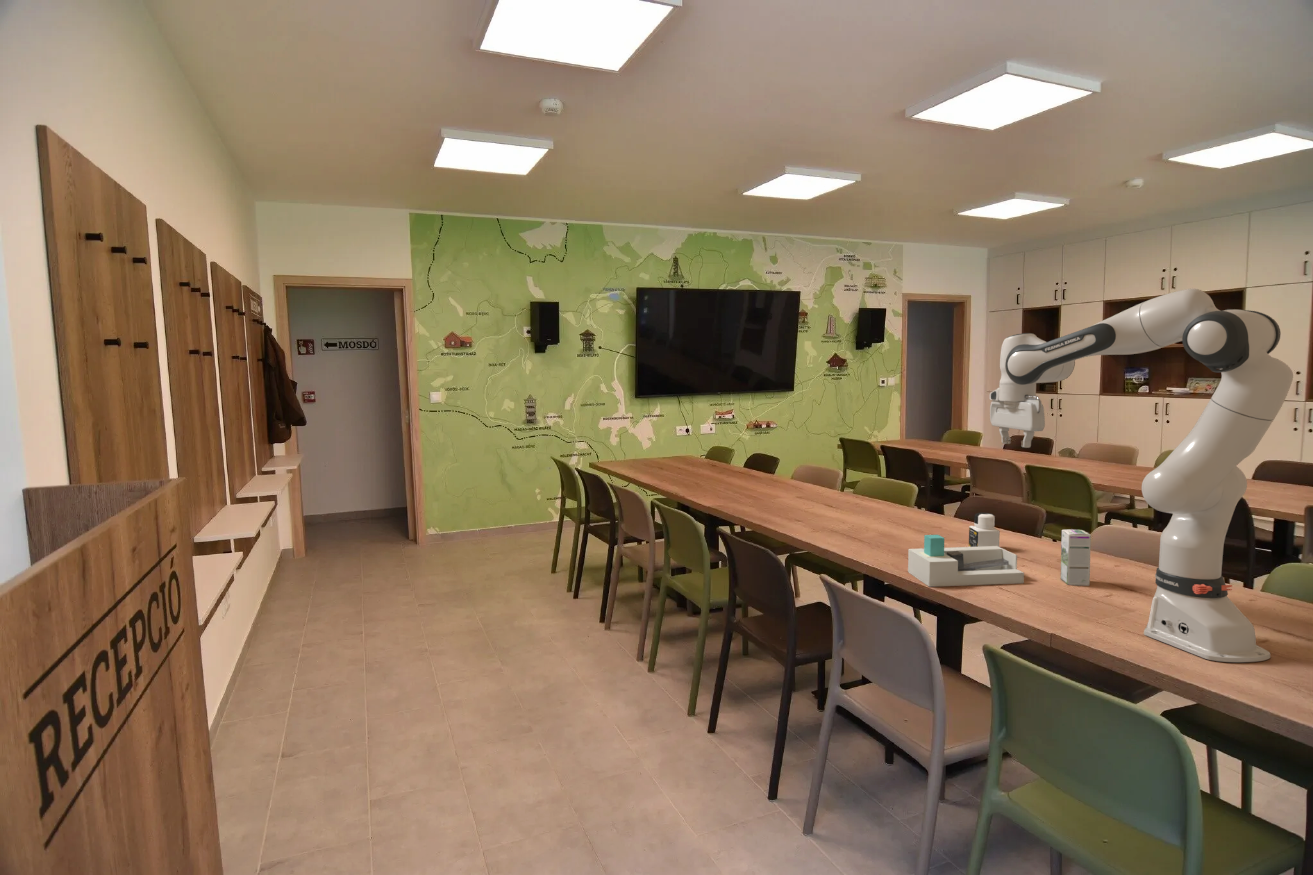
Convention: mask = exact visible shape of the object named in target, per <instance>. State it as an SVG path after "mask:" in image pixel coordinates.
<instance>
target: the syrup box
mask: <svg viewBox="0 0 1313 875" xmlns="http://www.w3.org/2000/svg"><path fill="white" fill-rule="evenodd" d="M1091 537H1092V534H1090V533H1089V532H1087V531H1085V530H1083V529H1073V528H1071V529H1062V530H1061V544H1060V549H1061V550H1060V580H1062V581H1063V582H1064V583H1065V584H1066V585H1067V586H1078V587H1079V586H1080V587H1081V586H1082V587H1083V586H1084V587H1089V586H1090V582H1091V578H1090V576H1091V547H1092V546H1091V545H1092V544H1091V540H1092V538H1091Z"/></svg>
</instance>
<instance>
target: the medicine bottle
mask: <svg viewBox="0 0 1313 875" xmlns="http://www.w3.org/2000/svg"><path fill="white" fill-rule="evenodd" d="M995 517H996V516H995V515H994V514H993V513H989V512H977V513H975V514H974V521H973V522H974V523H973V524H974V525H969V527H968V547H981V546H998V547H1000V536H1001V535H1000V530H999V529H997V528H995V521H996V520H995V519H996V518H995Z"/></svg>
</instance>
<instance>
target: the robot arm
mask: <svg viewBox="0 0 1313 875" xmlns="http://www.w3.org/2000/svg"><path fill="white" fill-rule="evenodd" d="M1280 339H1281V329H1280V326H1279V324H1278V323H1277V321H1276V320H1275V319H1273V317H1271V316H1269V315H1267V314H1265V313H1264V312H1259V311H1257V310H1256V311H1255V310H1249V309H1248V310H1247V309H1246V310H1245V309H1235V308H1234V309H1233V308H1227V309H1225V310H1220V309H1218V308H1217V307H1216V306H1215V304H1214V301H1213V299H1212V298H1211V296H1210V295H1209V294H1208V293H1206V292H1205V291H1203V290H1202V289H1198V288H1187V289H1186V288H1184V289H1181V290H1177V291H1174V292H1173V291H1172V292H1170V293H1166V294H1162V295H1160V296H1159V295H1158V296H1156V297H1154V298H1151V299H1148V300H1146V301H1143V302H1141V303H1138V304H1135V305H1134V306H1132V307H1129V308H1128V309H1125V310H1122V311H1121V312H1119V313H1116V314H1114V315H1112V316H1110V317H1108V318H1105V319H1104V320H1101V321H1099V322H1097V323H1094V324H1092V325H1090V326H1088V327H1085V328H1083V329H1080V330H1078V331H1075V332H1071V333H1068V334H1066V335H1063V336H1060V337H1057V338H1054V339H1051V340H1049V341H1045V340H1043V339H1042V338H1040V337H1037V335H1036V334H1034V333H1031V332H1024V333H1023V332H1022V333H1016V334H1013V335H1009V336H1007V337H1006V338H1004V340H1003V342H1002V344H1001V347H1000V356H999V358H1000V359H999V369H1000V379H999V383H998V384H999V385H998V387H997V388H996V389H994V390H992V391H990V393H989V400H990V401H991V402H990V406H989V420H990V421H989V422H990V423H991V426H992V427H997V428H998V427H999V428H998V430H999V435H1000V437H1001V443H1002V444H1005V445H1010V444H1011V443H1012V442H1011V440H1012V438H1011V437H1010V434H1009V431H1010V429H1013V430H1019V431H1023V435H1024V437H1023V440H1020V443H1021V445H1020V446H1021V447H1022V448H1024V449H1027V448H1028V449H1029V448H1031V446H1032V440H1033V438H1034V436H1035V432H1043V431H1044V428H1045V426H1046V420H1045V419H1046V418H1045V417H1046V416H1045V408H1044V405H1043V403H1042V400H1041V399H1040V398H1039V396H1038V395H1037V384H1040V383H1041V384H1044V383H1045V384H1046V383H1056V382H1061V381H1063V380H1064V381H1065V380H1066V379H1068V378H1069V377H1070V376H1071V375H1072V374H1073V371H1074V369H1075V364H1076V362H1075V361H1076V360H1080V359H1082V358H1088V357H1094V356H1108V355H1111V356H1113V355H1115V356H1117V355H1119V356H1120V355H1123V356H1124V355H1127V356H1128V355H1134V354H1135V355H1136V354H1143V353H1147V352H1152V351H1156V350H1159V349H1161V348H1162V349H1163V348H1165V347H1168V346H1170V345H1173V344H1176V343H1179V342H1182V346H1183V348H1184V350H1185V352H1186V353H1187V354H1188V355H1189V356H1190V357H1191V358H1193V359H1194V360H1196V361H1197V362H1199V363H1202V364H1203V365H1204V366H1205V367H1206V368H1208V369H1209V370H1210V371H1211V372H1213V373H1221V378H1220V382H1219V384H1218V386H1217V387H1216V389H1215V391H1214V393H1213V394H1212V396H1211V397H1210V399H1209V401H1208V402H1207V404H1206V405H1205V407H1204V408H1203V411H1202V413H1201V414H1200V416H1199V418H1198V419H1197V421H1196V423H1195V425H1194V426H1193V427H1192V429H1191V430H1190V431H1189V432H1188V434H1187V435H1186V436H1185V437H1184V438H1183V439H1182V441H1181V442H1180V443H1179V444H1178V445H1177V446H1176V447H1175V448H1174V449H1173V451H1172V452H1171V453H1170V454H1169V455H1168V456H1167V457H1166V458H1165V459H1164V461H1163V462H1161V464H1159V465H1158V466H1157V467H1155V468H1154V469H1153V470H1151V471H1150V472H1149V473H1148V474H1146V475H1145V476H1144V478H1143V480H1142V482H1141V493H1142V497H1143V500H1144V501H1145V502H1146V504H1147V505H1149V506H1150V507H1151V508H1152V509H1154V510H1155V511H1159V512H1162V513H1166V514H1172V516H1171V518H1170V519H1169V522H1168V524H1167V526H1166V527H1165V528H1164V529H1163V531H1162V532H1161V533H1160V538H1159V540H1160V542H1159V554H1158V556H1159V558H1158V560H1159V561H1158V567H1157V568H1156V569H1155V570H1156V571H1155V574H1154V575H1155V576H1154V577H1155V583H1154V584H1156V591H1155V593H1154V596H1153V597H1152V601H1151V605H1150V613H1149V616H1148V621H1147V625H1146V627H1145V628H1144V629H1143V634H1144V635H1145V636H1146V637H1149V638H1151V639H1154V640H1157V641H1160V642H1162V643H1164V644H1167V645H1170V646H1172V647H1175V648H1177V649H1180V650H1183V651H1185V652H1187V653H1189V654H1192V655H1195V656H1198V657H1200V658H1202V659H1206V660H1208V661H1209V660H1210V661H1213V662H1214V661H1216V662H1224V663H1255V662H1262V661H1267V660H1269V659H1271V652H1269V650H1267V649H1265V648H1263V647H1261V646H1259V645H1257V642H1256V641H1257V640H1256V639H1257V638H1256V636H1257V635H1256V631H1255V627H1254V625H1253V623H1252V622H1251V621H1250V620H1249V618H1248V617H1247V616H1245V615H1244V614H1243V613H1242V612H1241V610H1240V609H1239V608H1238V607H1237V606H1236V605H1235V603H1234V602H1233V601H1232V600H1231V598H1230V597H1229V596H1228V595H1229V593H1228V591H1232V590H1233V589H1232V587H1233V585H1232V584H1226V582H1225V578H1224V576H1223V575H1222V567H1223V557H1224V556H1223V555H1224V544H1225V540H1226V535H1227V533H1228V530H1229V526H1230V523H1231V521H1232V518H1233V515H1234V512H1235V509H1236V506H1237V504H1238V503H1239V501H1240V500H1241V499H1242V498H1243V496H1244V495H1245V493H1246V491H1247V490H1248V489H1247V488H1248V480H1247V477H1246V475H1245V474H1244V472H1243V471H1242V469H1240V467H1238V465H1239V464H1240V463H1241V462H1242V461H1243V460H1245V459H1246V458H1248V457H1250V455H1251V454H1253V452H1254V451H1255V450H1256V449H1257V447H1258V446H1259V444H1260V442H1261V441H1262V439H1263V437H1265V434H1266V433H1267V431H1268V429H1269V428H1270V427H1271V425H1272V423H1273V422H1274V420H1275V419H1276V417H1277V416H1278V414H1279V412H1280V411H1281V409H1282V407H1283V405H1284V402H1285V401H1286V399H1287V396H1288V393H1289V391H1290V389H1291V386H1292V382H1293V378H1294V373H1293V370H1292V368H1291V367H1290V366H1289V365H1288V364H1286V363H1285V362H1283V361H1282V360H1281V359H1278V358H1276V357H1272V356H1271V355H1270V354H1271V353H1272V352H1273V351H1274V350H1275V348H1277V346H1278V344H1279V342H1280Z"/></svg>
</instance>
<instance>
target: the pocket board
mask: <svg viewBox="0 0 1313 875" xmlns="http://www.w3.org/2000/svg"><path fill="white" fill-rule="evenodd" d="M953 551H959V552H961V553H962V554H963V561H964V564H966V563H973V562H981V561H988V560H996V559H1005V560H1007V561H1008V562H1009V565H1002V566H994V567H987V568H979V569H972V570H965V571H958V561H957V560H955V559H953V558H952V557H950V556H948V555H947V552H953ZM907 555H908V556H907V557H908V559H907V560H908V563H907V564H908V565H907V572H908V573H909V574H910V575H912V576H913V577H915V578H916V579H917V580H919V581H920V582H922V583H923V584H924V585H926V586H928V587H956V586H957V587H958V586H959V587H960V586H985V585H986V586H987V585H1009V584H1011V585H1012V584H1025V582H1024V581H1025V572H1023V571H1021V570H1019V569H1018V555H1017V554H1015V553H1014V552H1011V551H1008V550H1006V549H1005V548H1002V547H1000V546H999V547H998V546H981V547H969V546H956V547H944V556H929V555H927V554H925V553H924V547H923V548H908V554H907Z"/></svg>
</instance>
